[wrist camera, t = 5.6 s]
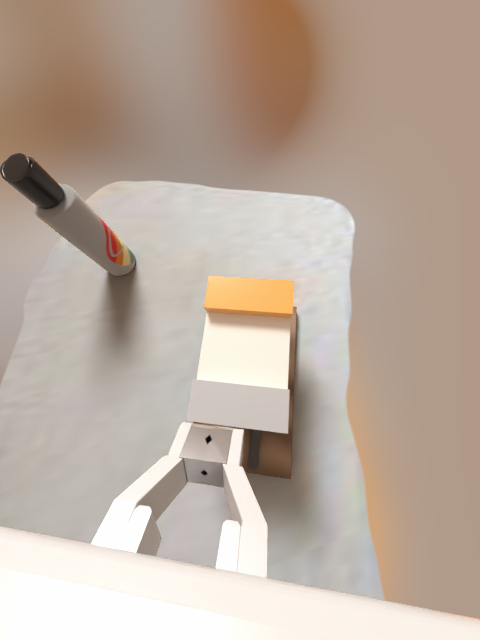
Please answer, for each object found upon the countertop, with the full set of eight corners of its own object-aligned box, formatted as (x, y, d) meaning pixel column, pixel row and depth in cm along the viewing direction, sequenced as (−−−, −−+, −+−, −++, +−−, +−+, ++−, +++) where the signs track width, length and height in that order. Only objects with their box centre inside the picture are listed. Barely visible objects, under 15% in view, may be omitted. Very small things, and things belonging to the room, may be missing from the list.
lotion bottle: (140, 253, 43) (48, 147, 24) (129, 279, 42) (21, 187, 23) (115, 248, 44) (6, 141, 25) (102, 273, 42) (-24, 180, 23)
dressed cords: (258, 469, 30) (258, 473, 28) (218, 463, 30) (216, 467, 29) (265, 370, 33) (265, 369, 32) (229, 366, 34) (228, 365, 33)
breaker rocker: (284, 428, 24) (288, 433, 21) (193, 417, 25) (185, 420, 22) (290, 291, 28) (293, 280, 26) (213, 286, 29) (209, 276, 27)
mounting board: (289, 474, 30) (290, 478, 29) (190, 459, 32) (187, 463, 30) (295, 310, 37) (296, 307, 36) (213, 304, 39) (211, 301, 37)
